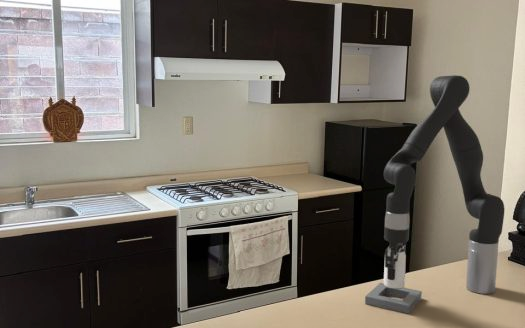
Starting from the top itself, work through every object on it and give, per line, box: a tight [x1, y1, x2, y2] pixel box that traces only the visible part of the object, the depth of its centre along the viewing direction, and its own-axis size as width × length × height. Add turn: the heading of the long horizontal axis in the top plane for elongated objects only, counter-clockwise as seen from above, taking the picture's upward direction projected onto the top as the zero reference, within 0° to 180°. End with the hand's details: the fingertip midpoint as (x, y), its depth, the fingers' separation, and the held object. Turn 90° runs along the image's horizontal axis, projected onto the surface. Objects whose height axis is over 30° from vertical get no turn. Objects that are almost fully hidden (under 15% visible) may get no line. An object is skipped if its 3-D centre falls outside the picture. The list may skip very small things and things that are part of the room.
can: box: [383, 247, 407, 289], centre depth 170 cm, size 6×6×12 cm
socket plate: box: [364, 282, 423, 315], centre depth 171 cm, size 14×14×2 cm
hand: (394, 276), depth 170 cm, fingers closed on can, 6 cm apart
